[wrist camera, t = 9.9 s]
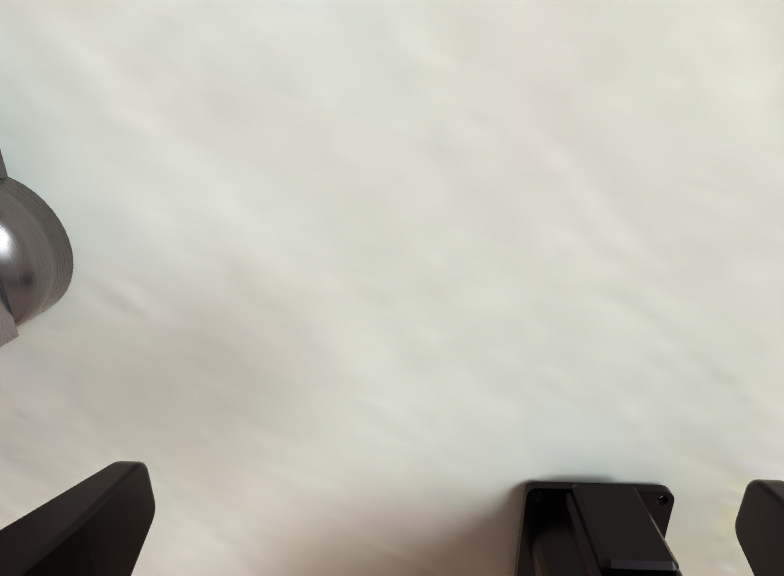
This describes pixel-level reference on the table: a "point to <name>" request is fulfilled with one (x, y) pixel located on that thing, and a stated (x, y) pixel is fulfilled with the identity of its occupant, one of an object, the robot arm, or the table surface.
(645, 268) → the table surface
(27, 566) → the robot arm
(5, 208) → the ratchet
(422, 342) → the table surface
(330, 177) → the table surface
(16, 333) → the grey cubic block
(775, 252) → the table surface
